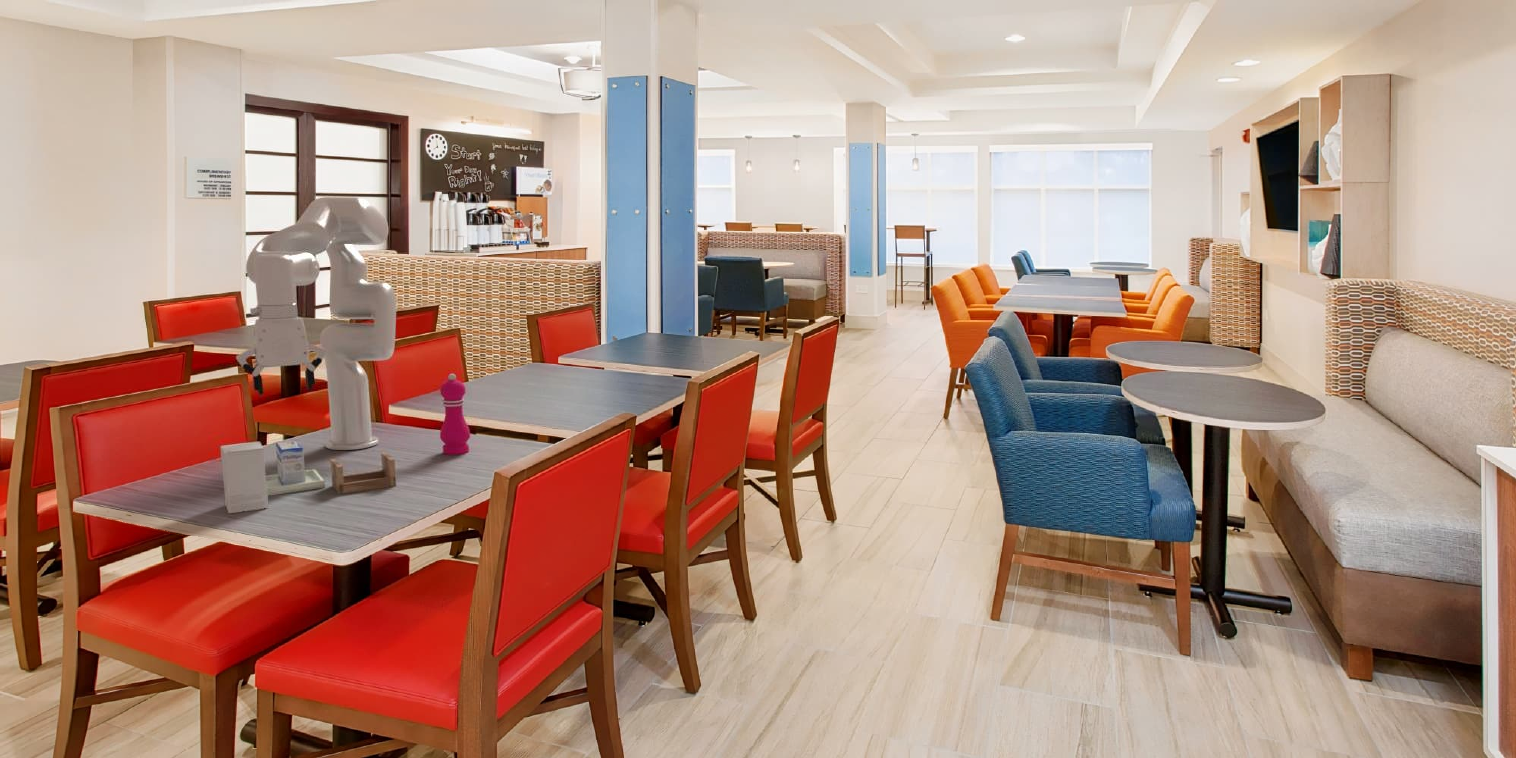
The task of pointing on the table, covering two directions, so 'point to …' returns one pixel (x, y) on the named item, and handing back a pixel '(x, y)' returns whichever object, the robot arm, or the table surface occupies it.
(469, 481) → the table surface
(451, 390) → the pepper mill
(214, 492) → the table surface
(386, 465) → the holder
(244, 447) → the supplement box
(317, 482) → the tray
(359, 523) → the table surface
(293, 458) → the medicine box
